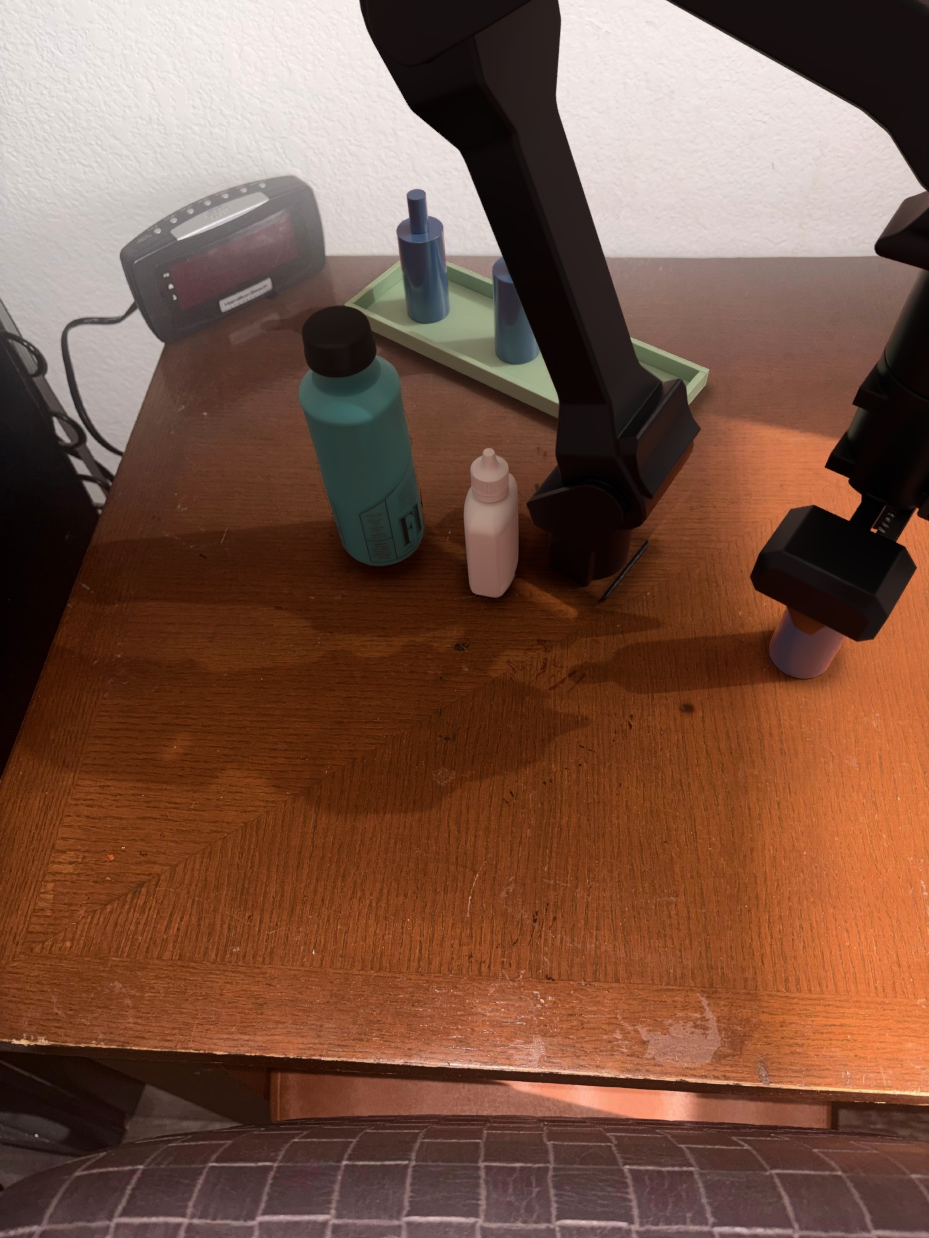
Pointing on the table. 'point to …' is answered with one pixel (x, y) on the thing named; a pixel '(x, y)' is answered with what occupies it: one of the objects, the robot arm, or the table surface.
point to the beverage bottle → (360, 437)
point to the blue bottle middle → (510, 320)
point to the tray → (488, 339)
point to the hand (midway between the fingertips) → (838, 575)
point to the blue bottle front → (803, 649)
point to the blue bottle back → (423, 262)
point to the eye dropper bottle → (491, 525)
